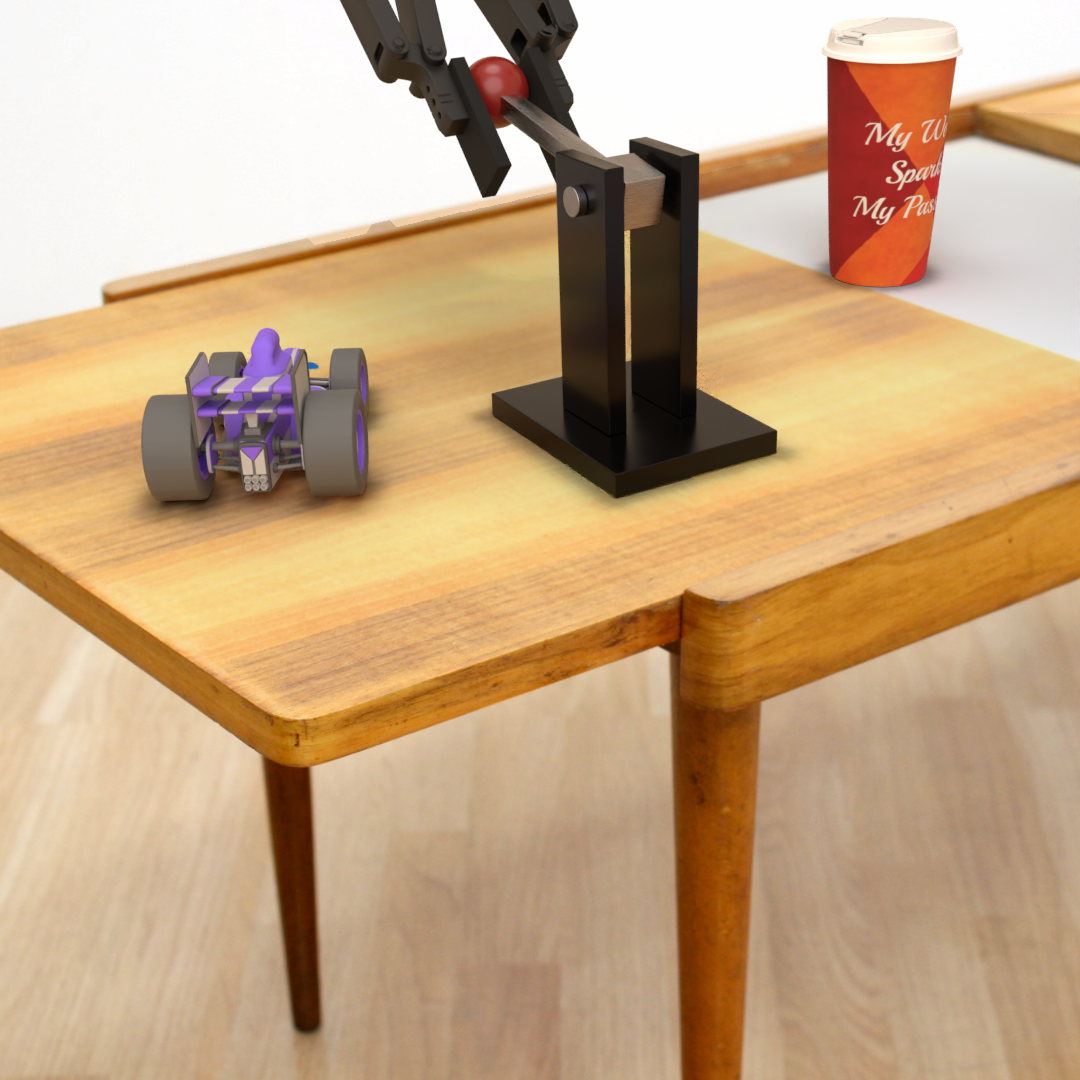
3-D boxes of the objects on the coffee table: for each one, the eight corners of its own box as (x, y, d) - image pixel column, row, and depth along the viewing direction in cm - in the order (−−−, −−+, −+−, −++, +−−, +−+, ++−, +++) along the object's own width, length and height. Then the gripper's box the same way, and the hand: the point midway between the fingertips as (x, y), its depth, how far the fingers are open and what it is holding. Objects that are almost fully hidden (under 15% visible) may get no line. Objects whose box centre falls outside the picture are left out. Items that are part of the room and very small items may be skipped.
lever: (446, 118, 81) (448, 50, 79) (506, 109, 83) (510, 42, 81) (605, 247, 70) (612, 172, 68) (671, 234, 72) (681, 160, 70)
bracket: (492, 414, 79) (477, 142, 73) (640, 378, 83) (638, 117, 77) (616, 498, 70) (611, 194, 64) (777, 453, 74) (787, 162, 67)
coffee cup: (876, 301, 93) (893, 42, 86) (784, 270, 99) (793, 26, 93) (973, 274, 97) (997, 25, 90) (879, 246, 103) (895, 10, 97)
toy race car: (392, 390, 83) (382, 272, 80) (361, 513, 69) (348, 376, 66) (214, 396, 83) (198, 278, 80) (149, 519, 70) (126, 383, 67)
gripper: (489, -147, 91) (645, 191, 85) (216, -128, 84) (366, 242, 78) (530, -251, 84) (701, 108, 79) (237, -240, 77) (403, 156, 72)
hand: (534, 174), depth 78 cm, fingers closed on lever, 4 cm apart
